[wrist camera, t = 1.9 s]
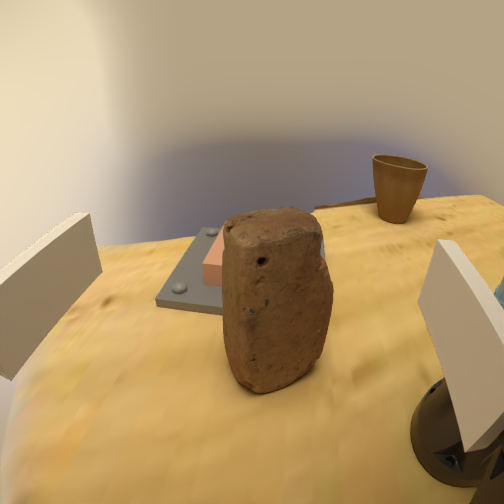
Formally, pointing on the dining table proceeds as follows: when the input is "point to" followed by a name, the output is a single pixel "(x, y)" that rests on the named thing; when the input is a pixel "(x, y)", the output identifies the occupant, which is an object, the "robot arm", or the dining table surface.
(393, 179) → the plant pot
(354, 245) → the dining table surface
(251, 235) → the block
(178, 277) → the tower base
